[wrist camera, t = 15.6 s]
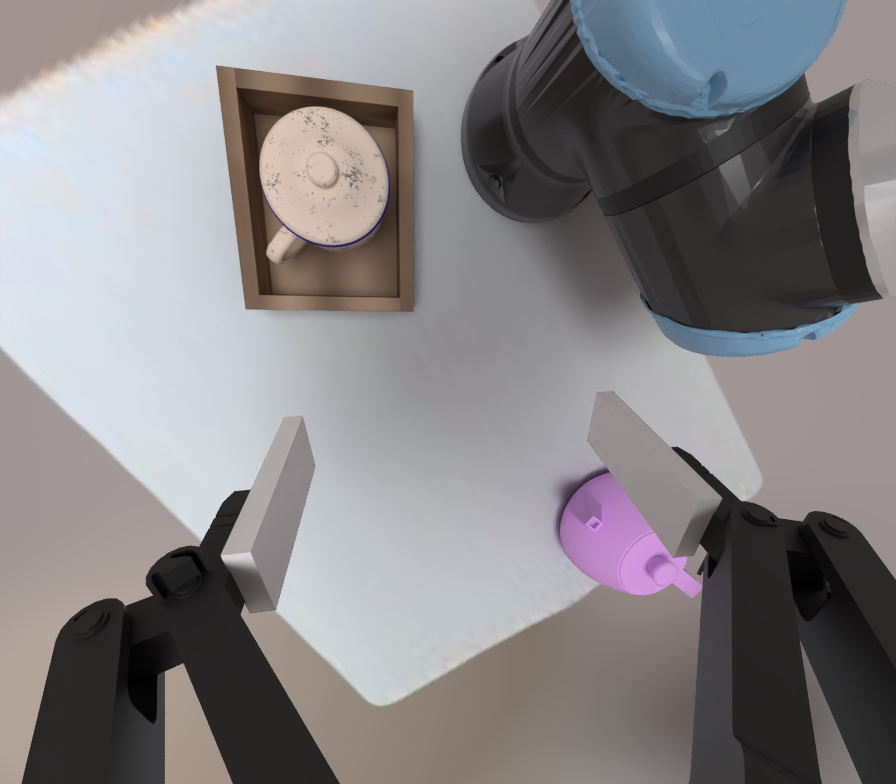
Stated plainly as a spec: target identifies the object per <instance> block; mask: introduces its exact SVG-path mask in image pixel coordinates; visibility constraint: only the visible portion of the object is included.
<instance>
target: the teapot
mask: <svg viewBox="0 0 896 784" xmlns="http://www.w3.org/2000/svg"><path fill="white" fill-rule="evenodd" d="M560 539H561V544H562V547H563V550H564V552H565V554H566V555H567V556H568V558H569V559H570V560H571V562H572V563H573V564H574V565H575V566H576V567H577V568H579V569H580V570H581V571H582V572H583V573H585V574H586V575H587V576H589V577H590V578H592V579H593V580H595V581H597V582H599V583H601V584H603V585H605V586H608V587H610V588H613V589H616V590H619V591H623V592H626V593H630V594H636V595H647V594H652V593H655V592H658V591H660V590H662V589H664V588H666V587H667V586H668V585H670V584H671V583H673V584H675V585H676V586H677V587H678V588H679V589H681V590H682V591H683V592H684V593H685V594H687V595H688V596H689V597H690V598H693V597H694V596H695V595H696V594H697V593H698V592H699V591H700V590H701V589H702V587H703V586H702V585H701V584H700V583H699V582H698V581H697V580H696V579H695V578H694V577H693V576H692V575H690V574H689V573H688V572H687V571H686V570H685V569H684V566H685V564H686V561H687V557H688V556H687V557H679V558H673V557H672V556H671V555H670V553H669V552H668V550H667V549H666V548H665V546H664V545H663V544H662V542H661V541H660V540H659V538H658V537H657V535H656V534H655V533H654V531H653V530H652V529H651V527H650V526H649V525H648V523H647V522H646V520H645V519H644V518H643V516H642V515H641V514H640V512H639V511H638V509H637V508H636V507H635V505H634V504H633V503H632V501H631V500H630V499H629V497H628V496H627V494H626V493H625V492H624V490H623V489H622V488H621V486H620V485H619V484H618V482H617V481H616V479H615V478H614V477H613V475H612V474H611V473H606V474H603V475H600V476H598V477H595V478H593V479H591V480H590V481H588V482H587V483H585V484H584V485H582V486H581V487H580V488H579V489H578V490H577V491H576V492H575V493H574V495H573V496H572V497H571V499H570V500H569V502H568V504H567V506H566V508H565V510H564V513H563V516H562V520H561V525H560Z"/></svg>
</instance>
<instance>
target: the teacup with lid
mask: <svg viewBox="0 0 896 784" xmlns="http://www.w3.org/2000/svg"><path fill="white" fill-rule="evenodd" d="M259 175H260V182H261V187H262V190H263V193H264V196H265V199H266V201H267V203H268V205H269V207H270V208H271V210H272V212H273V213H274V215H275V216H276V217H277V219H278V220H279V221H280V222H281V223H282V224H283V226H282V228H281V229H280V230H279V231H278V232H277V234H276V235H275V236H274V237H273V239H272V240H271V242H270V243H269V245H268V248H267V251H266V254H267V256H268V258H269V259H270V260H272V261H273V262H274V263H276V264H282V263H285V262H286V261H288V260H290V259H291V258H292V257H293V256H295V255H296V254H297V253H298V252H299V251H300V250H301V249H302V247H303V246H304V245H305V244H306V243H307V242H309V243H312V244H314V245H316V246H318V247H320V248H322V249H325V250H328V251H331V252H339V253H343V252H351V251H355V250H357V249H360V248H361V247H363V246H365V245H366V244H367V243H369V242H370V241H371V240H372V239H373V238H374V236H375V235H376V233H377V232H378V230H379V228H380V225H381V223H382V219H383V216H384V214H385V212H386V209H387V206H388V202H389V196H390V177H389V171H388V167H387V163H386V160H385V158H384V155H383V153H382V151H381V149H380V147H379V145H378V144H377V142H376V141H375V139H374V138H373V137H372V135H371V134H370V133H369V132H368V131H367V130H366V129H365V128H364V127H363V126H362V125H361V124H360V123H359V122H357V121H356V120H354V119H353V118H352V117H350V116H348V115H346V114H344V113H342V112H340V111H337V110H334V109H331V108H326V107H305V108H300V109H297V110H294V111H292V112H290V113H288V114H286V115H285V116H283V117H282V118H281V119H280V120H278V121H277V122H276V123H275V125H274V126H273V127H272V128H271V130H270V131H269V133H268V135H267V136H266V138H265V141H264V143H263V146H262V149H261V153H260V160H259Z"/></svg>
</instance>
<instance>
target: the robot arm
mask: <svg viewBox="0 0 896 784" xmlns="http://www.w3.org/2000/svg"><path fill="white" fill-rule="evenodd" d="M846 2H847V0H551V1H550V3H549V4H548V6H547V7H546V9H545V11H544V12H543V14H542V16H541V17H540V19H539V20H538V22H537V24H536V25H535V27H534V29H533V30H532V32H531V34H529V35H527V36H526V37H524V38H522V39H520V40H518V41H516V42H514V43H512V44H511V45H509V46H507V47H506V48H504V49H503V50H502V51H501V52H499V53H498V54H497V55H496V56H495V57H494V58H493V59H492V60H491V61H490V62H489V64H488V65H487V66H486V67H485V69H484V70H483V72H482V73H481V75H480V77H479V78H478V80H477V82H476V84H475V86H474V88H473V90H472V92H471V94H470V96H469V99H468V101H467V104H466V107H465V111H464V116H463V121H462V132H461V141H462V151H463V157H464V162H465V165H466V169H467V172H468V174H469V177H470V179H471V181H472V183H473V185H474V186H475V188H476V190H477V191H478V193H479V194H480V195H481V197H482V198H483V199H484V200H485V201H486V202H487V203H488V204H489V205H490V206H491V207H492V208H493V209H495V210H496V211H497V212H499V213H501V214H502V215H504V216H506V217H508V218H511V219H514V220H517V221H522V222H541V221H546V220H549V219H552V218H555V217H557V216H560V215H563V214H565V213H567V212H569V211H570V210H572V209H574V208H575V207H576V206H578V205H579V204H580V203H582V202H583V201H584V200H585V199H586V198H587V197H588V196H589V195H590V194H591V193H592V191H593V193H594V195H595V197H596V199H597V201H598V203H599V205H600V207H601V209H602V211H603V214H604V217H605V219H606V221H607V223H608V225H609V227H610V229H611V231H612V233H613V235H614V238H615V240H616V242H617V244H618V246H619V248H620V250H621V252H622V254H623V256H624V259H625V261H626V263H627V265H628V267H629V269H630V271H631V273H632V275H633V277H634V280H635V282H636V284H637V286H638V288H639V290H640V298H641V300H642V303H643V304H644V306H645V308H646V309H647V310H648V311H649V312H650V313H651V314H652V315H653V317H654V319H655V321H656V322H657V324H658V326H659V328H660V330H661V331H662V333H663V334H664V335H665V336H666V337H667V338H668V339H670V340H671V341H672V342H673V343H675V344H676V345H678V346H679V347H681V348H683V349H686V350H689V351H691V352H695V353H698V354H703V355H709V356H722V357H746V356H757V355H765V354H770V353H775V352H780V351H784V350H788V349H791V348H795V347H798V345H799V344H800V339H810V340H816V339H818V338H821V337H823V336H825V335H827V334H829V333H831V332H832V331H834V330H836V329H837V328H838V327H840V326H841V325H842V324H843V323H844V322H845V321H847V320H848V319H849V318H850V317H851V315H852V314H853V313H854V311H855V309H856V307H857V306H858V304H859V303H861V302H867V301H873V300H879V299H885V298H889V297H894V296H896V84H893V83H887V82H881V81H875V80H869V79H867V80H865V81H862V82H860V83H857V84H855V85H853V86H851V87H849V88H848V89H845V90H843V91H842V92H840V93H838V94H836V95H834V96H832V97H830V98H828V99H826V100H824V101H822V102H818V103H813V102H812V100H811V97H810V92H809V91H808V86H807V82H806V78H805V74H804V72H805V71H806V70H807V69H808V68H809V67H810V66H811V65H812V64H813V63H814V62H815V60H816V59H817V58H818V56H819V55H820V54H821V53H822V51H823V50H824V49H825V47H826V46H827V44H828V42H829V41H830V39H831V37H832V35H833V34H834V32H835V30H836V27H837V25H838V23H839V21H840V19H841V17H842V15H843V12H844V9H845V6H846ZM587 441H588V443H589V444H590V445H591V447H592V448H593V449H594V451H595V452H596V454H597V455H598V456H599V458H600V459H601V460H602V462H603V463H604V464H605V466H606V467H607V469H608V470H609V471H610V473H611V474H612V475H613V477H614V478H615V479H616V481H617V482H618V484H619V485H620V486H621V488H622V489H623V490H624V492H625V493H626V494H627V496H628V497H629V499H630V500H631V501H632V503H633V504H634V505H635V507H636V508H637V509H638V511H639V512H640V514H641V515H642V516H643V518H644V519H645V520H646V522H647V523H648V525H649V526H650V527H651V529H652V530H653V531H654V533H655V534H656V535H657V537H658V538H659V540H660V541H661V542H662V544H663V545H664V546H665V548H666V549H667V550H668V552H669V553H670V555H671V556H672V557H673V558H679V557H687V556H694V554H695V552H696V550H697V548H698V546H699V544H701V545H702V546H703V548H704V549H705V550H706V551H707V555H706V556H705V559H704V560H703V562H702V564H701V566H700V568H699V570H698V572H697V574H699V575H701V574H702V572H703V587H702V602H701V619H700V634H699V650H698V666H697V681H696V697H695V712H694V728H693V744H692V759H691V774H690V781H689V784H822V782H821V778H820V772H819V765H818V758H817V752H816V745H815V739H814V732H813V725H812V719H811V712H810V706H809V699H808V692H807V686H806V679H805V672H804V667H803V659H802V652H801V647H800V641H801V643H802V645H803V647H804V650H805V652H806V655H807V657H808V659H809V661H810V664H811V666H812V668H813V671H814V673H815V675H816V678H817V680H818V682H819V685H820V687H821V689H822V691H823V694H824V696H825V699H826V701H827V703H828V705H829V708H830V710H831V712H832V715H833V717H834V719H835V722H836V724H837V726H838V729H839V731H840V733H841V735H842V738H843V740H844V743H845V745H846V747H847V749H848V752H849V754H850V757H851V759H852V761H853V763H854V766H855V768H856V770H857V773H858V775H859V777H860V780H861V782H862V784H896V580H895V578H894V577H893V576H892V574H891V573H890V571H889V570H888V569H887V567H886V566H885V565H884V563H883V562H882V561H881V559H880V558H879V556H878V555H877V554H876V552H875V551H874V550H873V548H872V547H871V545H870V544H869V543H868V541H867V540H866V539H865V537H864V536H863V534H862V533H861V532H860V531H859V530H858V529H857V528H856V527H855V526H853V525H852V524H850V523H849V522H847V521H846V520H844V519H842V518H840V517H838V516H835V515H832V514H829V513H826V512H819V511H813V512H810V513H808V515H807V516H806V517H805V519H804V521H803V522H801V521H794V520H787V519H780V518H777V517H776V516H775V515H774V514H773V513H772V512H770V511H769V510H767V509H766V508H764V507H762V506H760V505H757V504H755V503H750V502H746V501H743V502H742V501H740V500H739V499H738V498H737V497H736V496H735V495H734V494H733V493H732V492H731V491H730V490H729V489H728V488H727V487H725V486H724V485H723V484H722V483H721V482H720V481H719V480H718V479H717V478H716V477H715V476H714V475H713V474H710V472H709V471H708V470H707V469H706V468H705V467H704V466H702V465H701V463H700V462H699V461H698V460H697V459H695V458H694V457H693V456H692V455H691V454H689V453H688V452H686V451H684V450H682V449H681V448H679V447H670V446H669V445H668V444H667V443H666V442H665V441H663V440H662V439H661V438H660V437H659V436H658V435H657V434H656V433H655V432H654V431H653V430H652V429H651V428H650V427H649V426H648V425H647V424H646V423H645V422H644V421H643V420H642V419H641V418H640V417H639V416H638V415H637V414H636V413H635V412H634V411H633V410H632V409H631V408H630V407H629V406H628V405H627V404H626V403H625V402H624V401H623V400H622V399H620V398H619V397H618V396H617V395H616V394H615V393H614V392H613V391H608V392H597V395H596V400H595V404H594V409H593V414H592V418H591V423H590V428H589V432H588V437H587ZM314 470H315V462H314V458H313V454H312V450H311V446H310V443H309V439H308V435H307V431H306V427H305V423H304V419H303V416H300V417H287V418H284V419H283V421H282V423H281V425H280V428H279V430H278V432H277V434H276V436H275V438H274V441H273V443H272V445H271V447H270V449H269V451H268V454H267V456H266V458H265V460H264V462H263V464H262V467H261V469H260V471H259V473H258V475H257V477H256V480H255V482H254V484H253V486H252V488H251V490H243V491H234V492H233V493H232V494H231V495H230V496H229V497H228V498H227V499H226V500H225V501H224V502H223V503H222V505H221V507H220V508H219V510H218V512H217V514H216V518H214V520H213V522H212V524H211V525H210V529H208V531H207V533H206V535H205V537H204V539H203V541H202V542H201V544H200V546H199V547H197V546H186V547H181V548H178V549H176V550H174V551H171V552H169V553H167V554H166V555H165V556H163V557H162V558H160V559H159V560H158V561H157V562H156V563H155V564H154V565H153V566H152V567H151V569H150V570H149V572H148V574H147V576H146V586H147V587H148V589H149V590H150V591H151V593H152V594H153V596H151V597H148V598H145V599H143V600H140V601H138V602H135V603H132V604H129V605H127V606H125V605H124V604H123V603H122V602H121V601H119V600H118V599H115V598H114V599H112V598H111V599H103V600H101V601H97V602H94V603H92V604H91V605H89V606H87V607H85V608H84V609H82V610H80V611H79V612H78V613H77V614H75V615H74V616H73V617H72V618H70V620H69V621H68V622H67V623H66V624H65V625H64V626H63V628H62V629H61V630H60V633H59V634H58V637H57V639H56V642H55V646H54V650H53V654H52V658H51V663H50V667H49V671H48V675H47V679H46V684H45V688H44V692H43V696H42V700H41V705H40V709H39V713H38V718H37V721H36V725H35V730H34V734H33V738H32V742H31V747H30V751H29V755H28V759H27V763H26V767H25V772H24V776H23V780H22V784H165V671H167V670H169V669H171V668H174V667H176V666H178V665H180V664H182V663H184V665H185V667H186V670H187V672H188V675H189V677H190V680H191V682H192V685H193V687H194V690H195V692H196V695H197V697H198V699H199V702H200V704H201V707H202V709H203V712H204V714H205V717H206V719H207V721H208V724H209V726H210V729H211V731H212V734H213V736H214V738H215V741H216V743H217V746H218V748H219V750H220V753H221V756H222V758H223V760H224V763H225V765H226V768H227V770H228V773H229V775H230V778H231V780H232V782H233V784H340V783H339V782H338V780H337V778H336V777H335V775H334V773H333V771H332V770H331V768H330V766H329V765H328V763H327V761H326V760H325V758H324V756H323V754H322V753H321V751H320V749H319V748H318V746H317V744H316V743H315V741H314V739H313V737H312V736H311V734H310V732H309V731H308V729H307V727H306V726H305V724H304V722H303V720H302V719H301V717H300V715H299V714H298V712H297V710H296V709H295V707H294V705H293V703H292V702H291V700H290V698H289V697H288V695H287V693H286V692H285V690H284V688H283V686H282V685H281V683H280V681H279V680H278V678H277V676H276V674H275V673H274V671H273V669H272V668H271V666H270V664H269V663H268V661H267V659H266V657H265V656H264V654H263V653H262V651H261V649H260V647H259V646H258V644H257V642H256V640H255V639H254V637H253V636H252V634H251V632H250V630H249V629H248V627H247V625H246V624H245V622H244V620H243V619H242V617H241V612H242V609H243V606H244V603H245V605H246V607H247V608H248V611H249V613H257V612H265V611H273V610H276V608H277V604H278V601H279V597H280V593H281V590H282V586H283V582H284V579H285V575H286V572H287V568H288V564H289V561H290V557H291V553H292V550H293V546H294V542H295V539H296V535H297V531H298V528H299V524H300V521H301V517H302V513H303V510H304V506H305V502H306V499H307V495H308V491H309V488H310V484H311V481H312V477H313V473H314ZM799 638H800V639H799Z"/></svg>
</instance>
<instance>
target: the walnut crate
mask: <svg viewBox="0 0 896 784" xmlns="http://www.w3.org/2000/svg"><path fill="white" fill-rule="evenodd" d="M216 70H217V78H218V86H219V95H220V103H221V111H222V119H223V127H224V136H225V144H226V152H227V160H228V169H229V177H230V185H231V193H232V201H233V210H234V218H235V226H236V234H237V242H238V251H239V259H240V267H241V275H242V284H243V292H244V300H245V308H246V309H256V310H333V311H409V312H413V91H411V90H404V89H396V88H388V87H380V86H372V85H365V84H357V83H349V82H341V81H333V80H326V79H318V78H310V77H302V76H294V75H286V74H279V73H271V72H263V71H255V70H247V69H240V68H232V67H224V66H216ZM305 107H326V108H331V109H334V110H337V111H340V112H342V113H344V114H346V115H348V116H350V117H352V118H353V119H354V120H356V121H357V122H359V123H360V124H361V125H362V126H363V127H364V128H365V129H366V130H367V131H368V132H369V133H370V134H371V135H372V137H373V138H374V139H375V141H376V142H377V144H378V145H379V147H380V149H381V151H382V153H383V155H384V158H385V160H386V163H387V167H388V171H389V177H390V196H389V202H388V206H387V209H386V212H385V214H384V216H383V219H382V223H381V225H380V228H379V230H378V232H377V233H376V235H375V236H374V238H373V239H372V240H371V241H370V242H369V243H367V244H366V245H365V246H363V247H361V248H360V249H357V250H355V251H351V252H343V253H339V252H331V251H328V250H325V249H322V248H320V247H318V246H316V245H314V244H312V243H309V242H307V243H306V244H305V245H304V246H303V247H302V249H301V250H300V251H299V252H298V253H297V254H296V255H295V256H293V257H292V258H291V259H290V260H288V261H286V262H285V263H282V264H276V263H274V262H273V261H272V260H270V259H269V258H268V256H267V254H266V251H267V248H268V245H269V243H270V242H271V240H272V239H273V237H274V236H275V235H276V234H277V232H278V231H279V230H280V229H281V228H282V226H283V224H282V223H281V222H280V221H279V220H278V219H277V217H276V216H275V215H274V213H273V212H272V210H271V208H270V207H269V205H268V203H267V201H266V199H265V196H264V193H263V190H262V187H261V182H260V175H259V160H260V153H261V149H262V146H263V143H264V141H265V138H266V136H267V135H268V133H269V131H270V130H271V128H272V127H273V126H274V125H275V123H276V122H277V121H278V120H280V119H281V118H282V117H283V116H285V115H286V114H288V113H290V112H292V111H294V110H297V109H300V108H305Z"/></svg>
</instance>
